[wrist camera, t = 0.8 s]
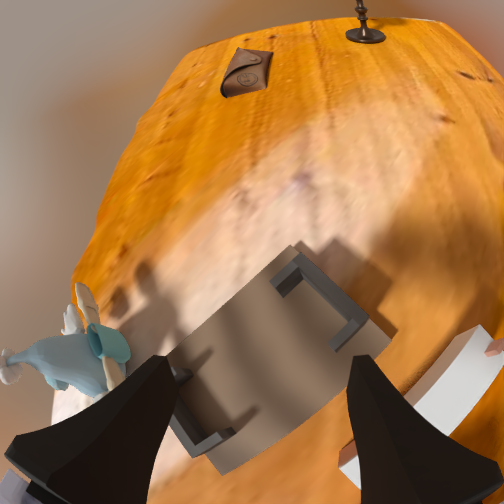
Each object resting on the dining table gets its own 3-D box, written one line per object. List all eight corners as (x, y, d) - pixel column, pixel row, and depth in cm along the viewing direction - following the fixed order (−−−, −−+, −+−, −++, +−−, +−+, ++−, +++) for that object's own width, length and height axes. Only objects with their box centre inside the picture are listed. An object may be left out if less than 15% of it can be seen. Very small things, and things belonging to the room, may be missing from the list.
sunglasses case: (269, 89, 42) (239, 66, 38) (242, 110, 47) (213, 91, 43) (273, 51, 49) (250, 33, 45) (252, 68, 54) (230, 52, 50)
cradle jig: (292, 249, 28) (283, 228, 24) (389, 342, 21) (398, 335, 17) (156, 370, 26) (130, 366, 23) (227, 472, 20) (207, 485, 16)
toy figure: (74, 340, 32) (-15, 306, 19) (117, 294, 33) (23, 242, 20) (120, 448, 23) (9, 452, 10) (177, 410, 24) (50, 410, 11)
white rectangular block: (454, 335, 19) (491, 317, 13) (479, 363, 17) (521, 354, 10) (339, 450, 18) (336, 478, 12) (366, 477, 16) (373, 513, 10)
